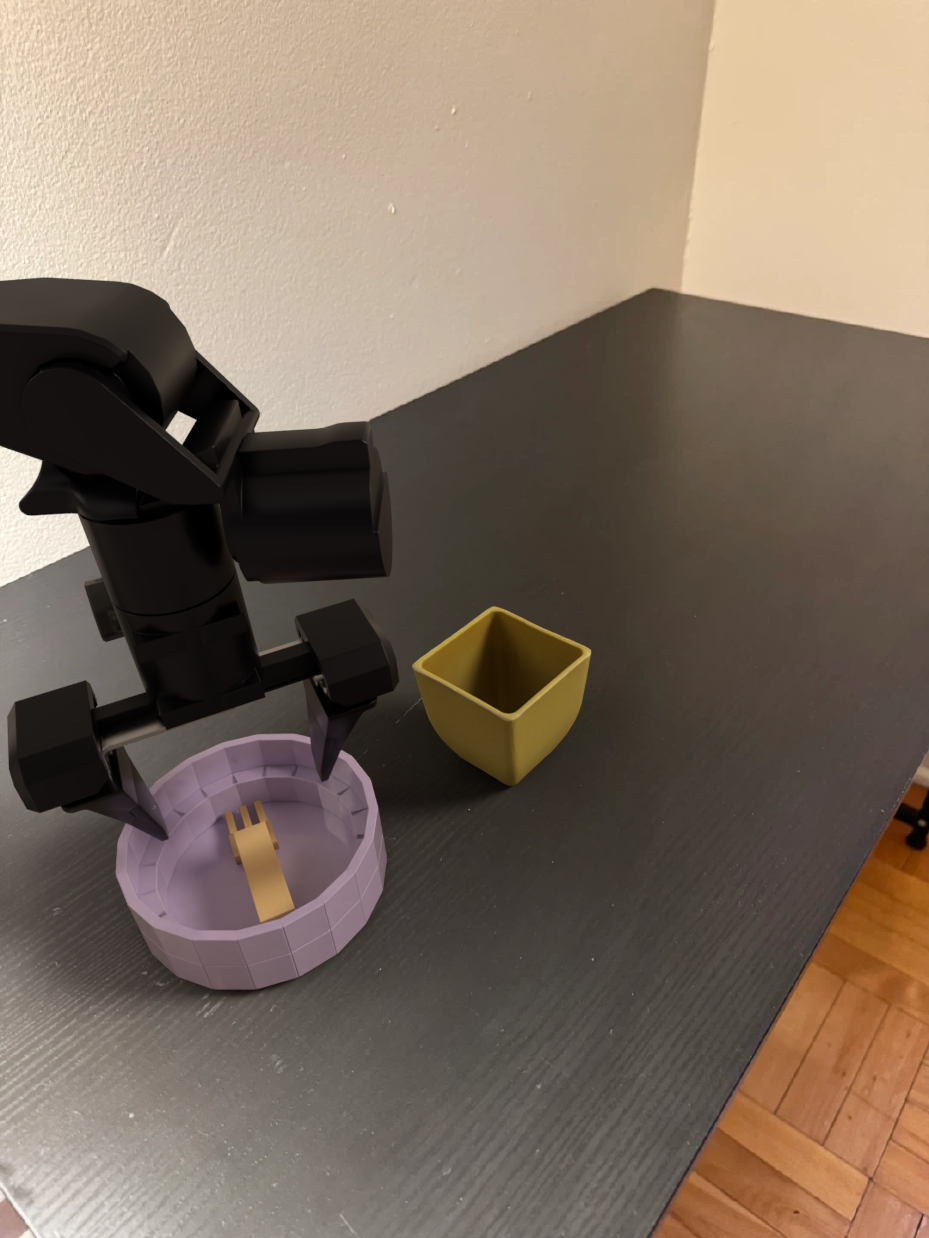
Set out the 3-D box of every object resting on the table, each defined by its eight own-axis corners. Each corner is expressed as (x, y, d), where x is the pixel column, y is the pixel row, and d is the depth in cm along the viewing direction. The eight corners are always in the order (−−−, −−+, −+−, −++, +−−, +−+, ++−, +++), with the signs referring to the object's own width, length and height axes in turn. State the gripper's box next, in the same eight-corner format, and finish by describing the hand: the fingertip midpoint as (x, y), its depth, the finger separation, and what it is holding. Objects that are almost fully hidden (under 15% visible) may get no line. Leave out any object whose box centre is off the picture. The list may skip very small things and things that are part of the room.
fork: (310, 935, 49) (301, 905, 48) (263, 955, 48) (253, 925, 47) (264, 806, 57) (255, 775, 56) (223, 821, 57) (213, 790, 55)
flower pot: (419, 759, 61) (408, 663, 56) (497, 695, 66) (493, 602, 61) (514, 819, 56) (511, 721, 51) (590, 746, 61) (595, 649, 56)
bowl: (90, 951, 50) (58, 895, 47) (230, 769, 61) (212, 713, 58) (316, 1031, 45) (298, 975, 42) (423, 818, 57) (416, 761, 53)
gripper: (316, 463, 48) (354, 673, 57) (-42, 553, 42) (65, 769, 51) (385, 555, 39) (416, 782, 49) (-49, 682, 34) (80, 911, 43)
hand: (245, 804), depth 48 cm, fingers open, 9 cm apart
